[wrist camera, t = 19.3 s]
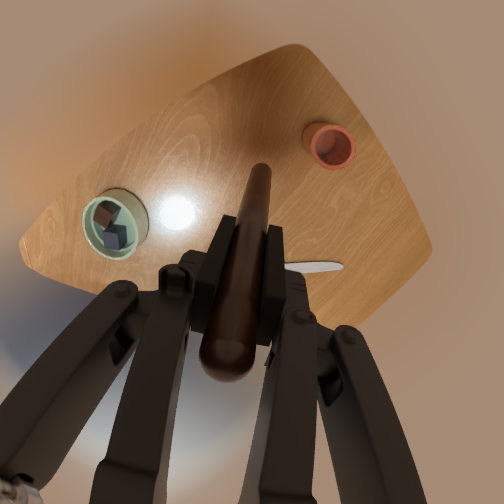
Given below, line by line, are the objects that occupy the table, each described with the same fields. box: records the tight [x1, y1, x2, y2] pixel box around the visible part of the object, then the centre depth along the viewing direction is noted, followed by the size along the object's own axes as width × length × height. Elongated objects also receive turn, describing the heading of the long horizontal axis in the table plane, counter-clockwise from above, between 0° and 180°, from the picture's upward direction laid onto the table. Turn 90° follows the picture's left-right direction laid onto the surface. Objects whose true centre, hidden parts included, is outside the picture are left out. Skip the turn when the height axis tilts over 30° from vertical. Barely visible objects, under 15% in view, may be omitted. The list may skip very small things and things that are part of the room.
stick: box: [199, 163, 272, 383], centre depth 17 cm, size 2×2×22 cm
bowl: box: [82, 189, 148, 260], centre depth 45 cm, size 12×12×5 cm
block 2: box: [102, 224, 127, 251], centre depth 46 cm, size 4×4×4 cm
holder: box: [302, 122, 356, 170], centre depth 34 cm, size 6×6×10 cm
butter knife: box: [285, 262, 344, 273], centre depth 50 cm, size 1×24×3 cm
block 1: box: [93, 200, 121, 230], centre depth 44 cm, size 4×4×4 cm
